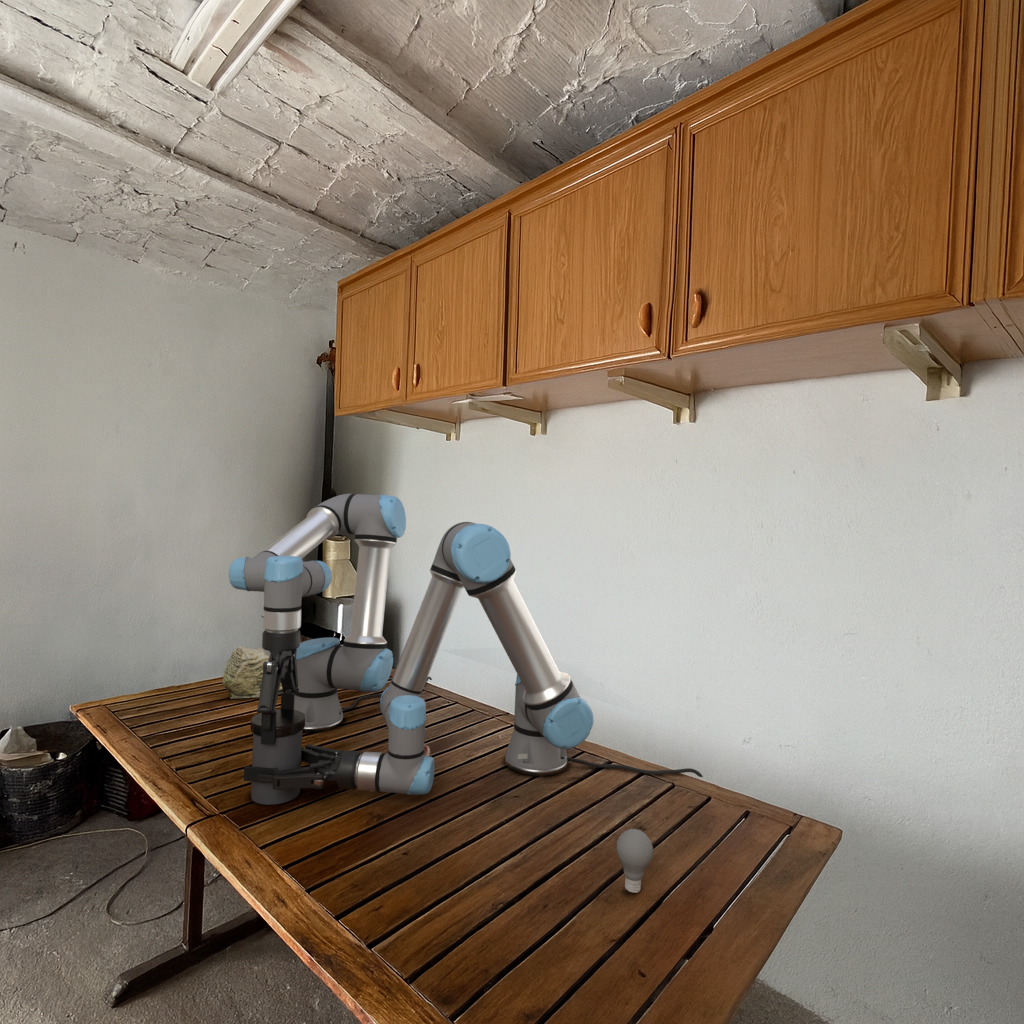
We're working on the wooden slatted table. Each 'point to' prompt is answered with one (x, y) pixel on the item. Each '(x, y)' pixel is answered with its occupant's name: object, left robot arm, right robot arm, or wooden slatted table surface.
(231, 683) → the fossil
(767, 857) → the wooden slatted table surface
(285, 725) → the lid
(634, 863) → the light bulb
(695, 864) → the wooden slatted table surface
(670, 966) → the wooden slatted table surface
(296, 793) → the jar
